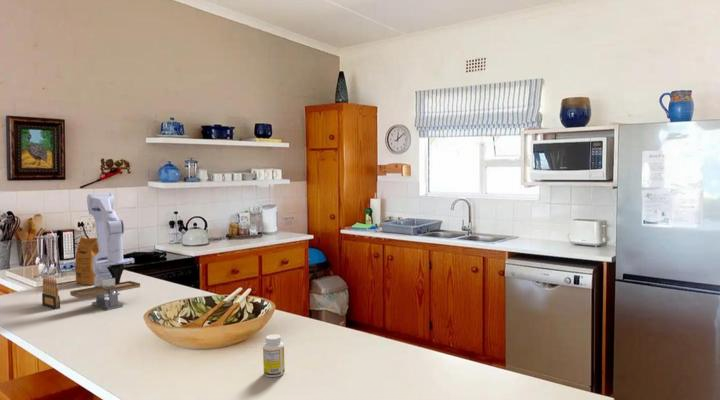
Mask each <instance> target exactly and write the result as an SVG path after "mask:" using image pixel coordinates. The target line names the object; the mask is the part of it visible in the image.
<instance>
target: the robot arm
mask: <svg viewBox="0 0 720 400" xmlns="http://www.w3.org/2000/svg"><path fill="white" fill-rule="evenodd" d="M86 203H87V211H88V215H91V216H93V219H94V222H95V231H96V232H95V233H96V238H97V242H98V250H99V253H97V254H96V255H95V256H94V257H93V272H94V274H95V275H96V276H95V278H94V285H93V287H95V286H97V279H98V278H105V277H113V278H115V284H119V283H120V282H121V278H122V275H123V272H124V271H125V268H126V265H128V264H134V263H135V258H133V257H129V258H124V245H123V244H124V243H123V241H124V239H123V234H124V233H125V232H124V231H125V225H124V221H123V219H121V218H119V216H118V214H117V212H116V211H115V210H113V209H114V205H115V204H114V203H115V198H114V194H113V193H112V192H109V193H92V194H91V193H89V194H88V195H87V197H86ZM101 259H103V260H101ZM120 294H121V291H118V295H120ZM104 297H105V298H106V297H109V294H107V293H106V294H104Z"/></svg>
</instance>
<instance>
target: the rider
mask: <svg viewBox="0 0 720 400" xmlns="http://www.w3.org/2000/svg"><path fill="white" fill-rule="evenodd" d="M114 287H115V278H113V277H105V278H98V279H97V289H100V290H103V289H108V288H114Z"/></svg>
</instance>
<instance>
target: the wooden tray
mask: <svg viewBox="0 0 720 400" xmlns="http://www.w3.org/2000/svg"><path fill="white" fill-rule="evenodd" d="M137 288H141V283H140V282H136V281H132V280H126V281H120V283H119V284H115V287H114V288H108V289H103V290H100V289H97V287H94V286H93V287H87V288H81V289H76V290H69V291H70V292H69V295H70V296H72V297H75V298H77V299H84V298H85V299H86V298H89V297H94V296H95V297H96V295H101V294H106V293H107V294H109V290H111V289H117V290H118V292H121V291H127V290H132V289H137Z"/></svg>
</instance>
